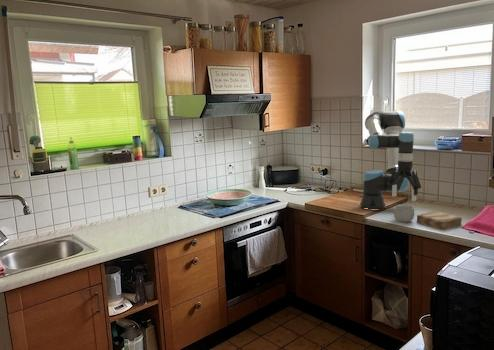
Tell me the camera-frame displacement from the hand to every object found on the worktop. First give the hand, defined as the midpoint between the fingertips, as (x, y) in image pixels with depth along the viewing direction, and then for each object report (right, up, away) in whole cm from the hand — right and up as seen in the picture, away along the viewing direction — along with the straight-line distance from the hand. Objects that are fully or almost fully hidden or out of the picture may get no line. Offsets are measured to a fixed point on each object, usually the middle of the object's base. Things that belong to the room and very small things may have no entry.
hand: (403, 198), depth 230 cm
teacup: (0, -13, +3) cm, 13 cm away
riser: (+17, -13, -5) cm, 22 cm away
